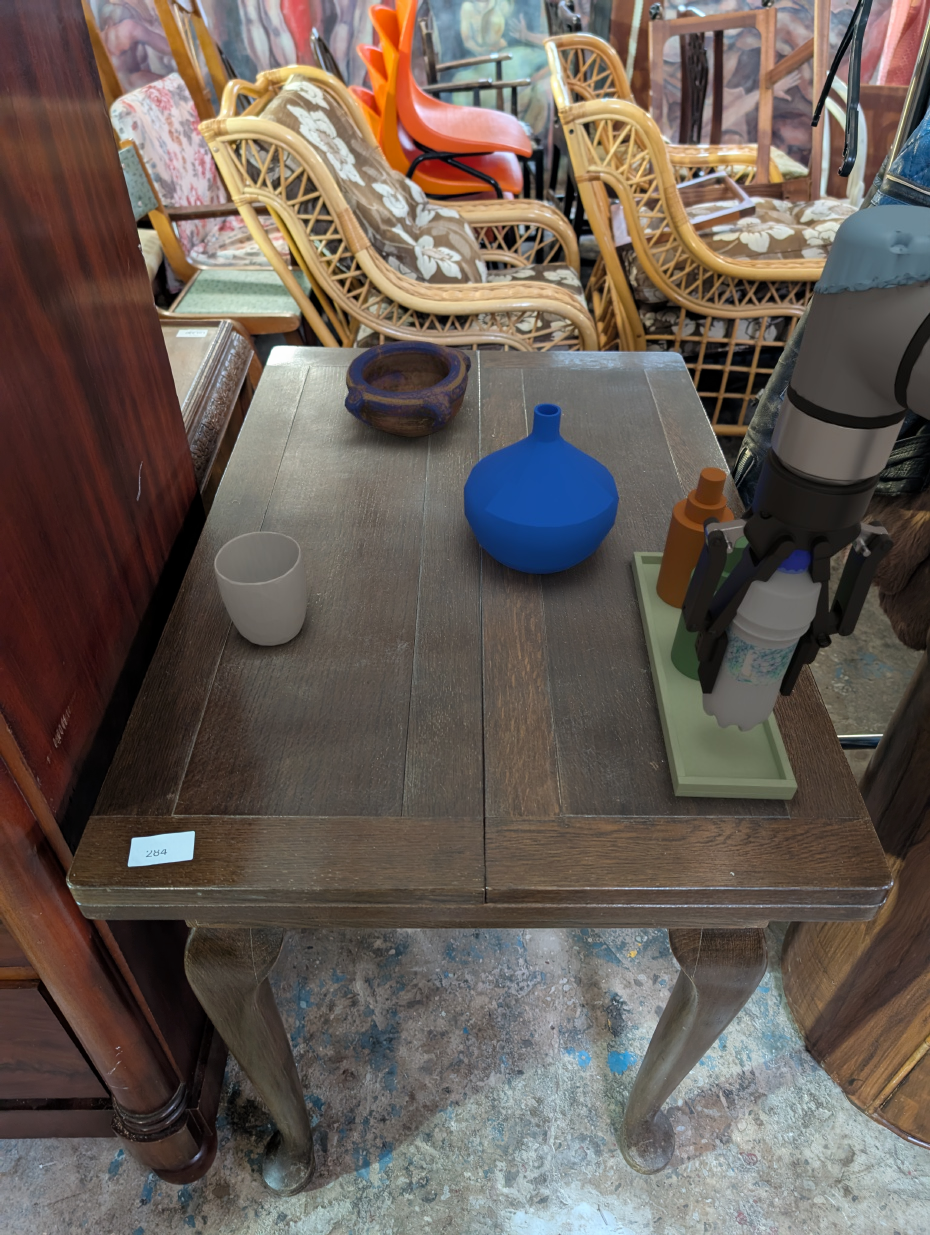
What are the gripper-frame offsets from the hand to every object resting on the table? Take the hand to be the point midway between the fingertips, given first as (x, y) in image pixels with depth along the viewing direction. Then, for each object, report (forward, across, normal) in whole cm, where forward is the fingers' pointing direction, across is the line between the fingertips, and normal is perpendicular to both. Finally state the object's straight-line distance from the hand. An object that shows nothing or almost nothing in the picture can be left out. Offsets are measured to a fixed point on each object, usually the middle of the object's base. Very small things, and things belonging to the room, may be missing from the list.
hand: (743, 683), depth 70 cm
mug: (+9, +47, -17) cm, 51 cm away
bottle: (+4, 0, 0) cm, 4 cm away
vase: (+9, +17, -30) cm, 36 cm away
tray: (+9, 0, -11) cm, 14 cm away
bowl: (+10, +35, -61) cm, 71 cm away
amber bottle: (+8, 0, -22) cm, 24 cm away
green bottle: (+8, 0, -11) cm, 14 cm away
